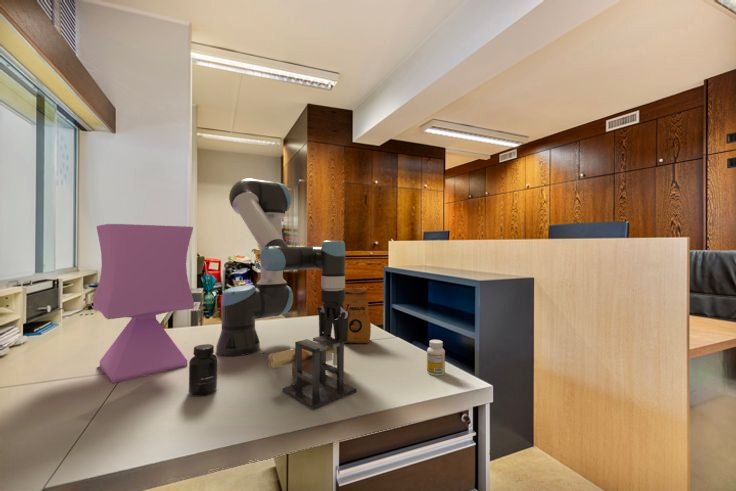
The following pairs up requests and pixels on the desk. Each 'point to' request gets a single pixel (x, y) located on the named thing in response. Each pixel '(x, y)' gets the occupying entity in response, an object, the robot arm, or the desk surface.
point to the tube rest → (303, 367)
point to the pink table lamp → (142, 295)
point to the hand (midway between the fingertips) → (332, 362)
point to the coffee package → (357, 315)
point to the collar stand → (319, 374)
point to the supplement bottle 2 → (436, 358)
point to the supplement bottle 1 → (203, 371)
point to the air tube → (290, 357)
